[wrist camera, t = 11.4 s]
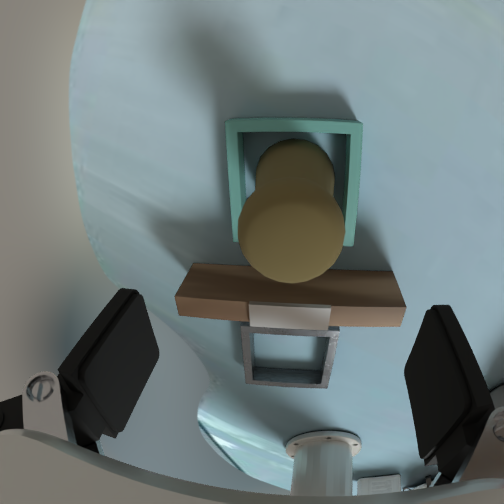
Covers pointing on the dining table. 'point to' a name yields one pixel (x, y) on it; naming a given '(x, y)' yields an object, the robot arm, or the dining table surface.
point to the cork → (292, 214)
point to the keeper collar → (288, 375)
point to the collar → (349, 127)
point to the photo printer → (379, 485)
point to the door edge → (291, 298)
